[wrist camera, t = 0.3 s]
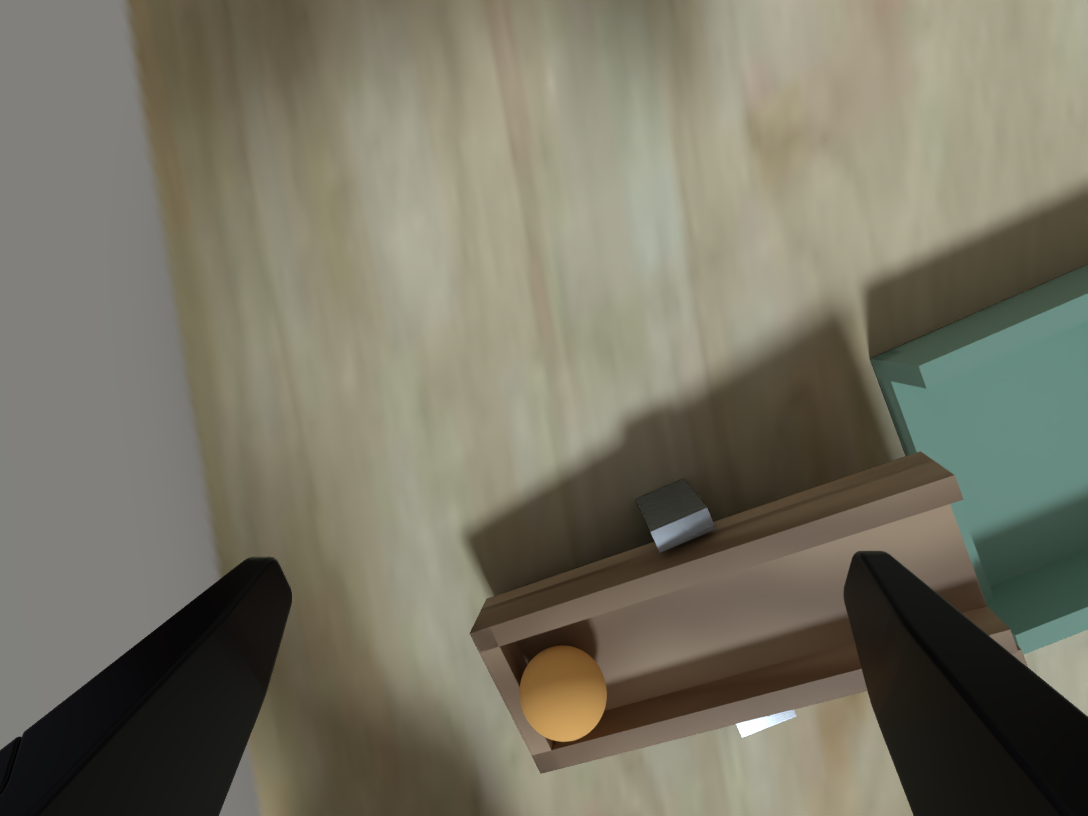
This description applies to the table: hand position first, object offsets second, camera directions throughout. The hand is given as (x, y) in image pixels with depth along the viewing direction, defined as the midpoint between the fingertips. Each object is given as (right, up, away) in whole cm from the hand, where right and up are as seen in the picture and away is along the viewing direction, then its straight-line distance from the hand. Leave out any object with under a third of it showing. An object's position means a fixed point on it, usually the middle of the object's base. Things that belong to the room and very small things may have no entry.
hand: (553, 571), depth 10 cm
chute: (+8, -7, +13) cm, 16 cm away
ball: (0, -7, +11) cm, 14 cm away
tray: (+19, +1, +13) cm, 23 cm away
